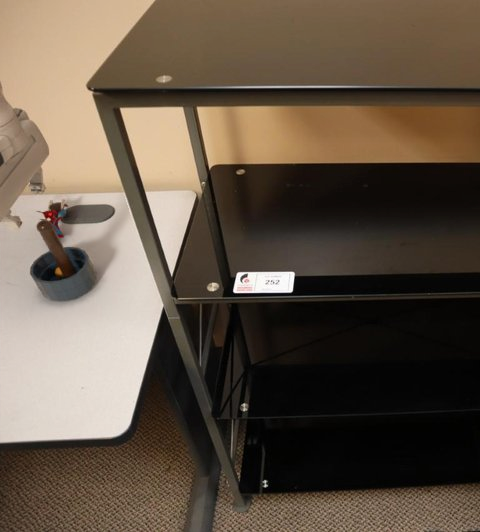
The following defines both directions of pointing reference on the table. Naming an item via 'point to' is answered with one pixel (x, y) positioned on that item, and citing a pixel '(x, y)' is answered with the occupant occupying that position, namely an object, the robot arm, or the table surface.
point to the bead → (59, 273)
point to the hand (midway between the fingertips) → (28, 208)
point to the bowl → (65, 287)
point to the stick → (56, 248)
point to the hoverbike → (55, 215)
